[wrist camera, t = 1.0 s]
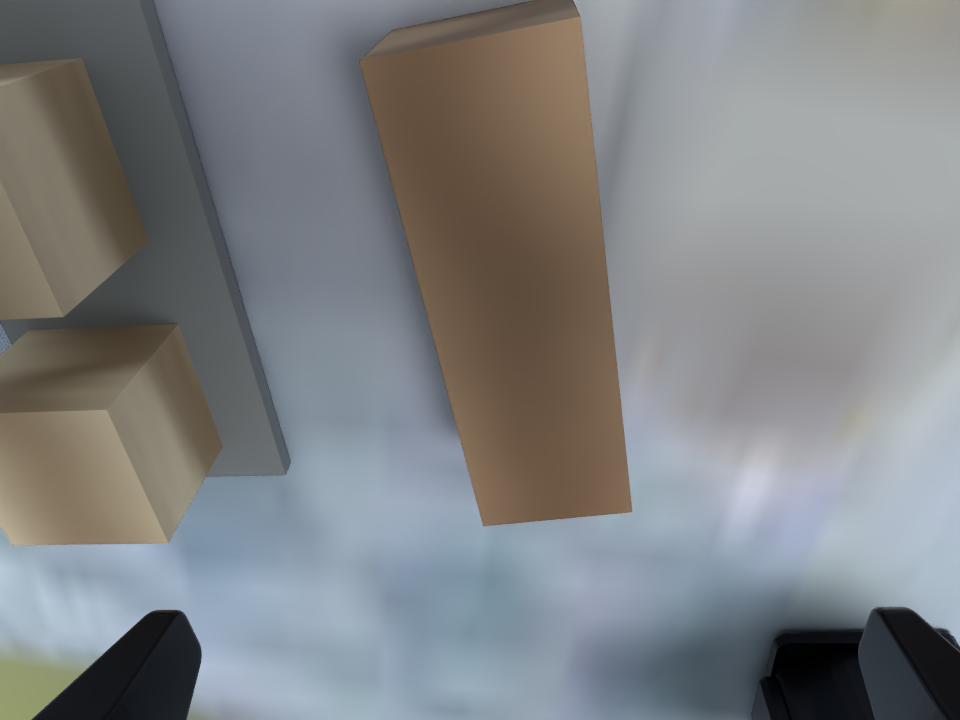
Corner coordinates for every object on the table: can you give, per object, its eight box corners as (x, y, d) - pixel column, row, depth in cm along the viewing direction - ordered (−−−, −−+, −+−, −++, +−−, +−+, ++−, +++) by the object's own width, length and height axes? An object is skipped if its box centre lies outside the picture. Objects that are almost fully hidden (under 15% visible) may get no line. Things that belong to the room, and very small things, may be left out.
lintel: (569, -8, 15) (580, 16, 12) (616, 418, 22) (632, 511, 18) (394, 28, 16) (359, 60, 13) (490, 432, 22) (482, 526, 19)
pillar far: (178, 323, 20) (106, 409, 16) (222, 446, 22) (168, 543, 19) (28, 330, 20) (-71, 415, 17) (89, 450, 23) (12, 545, 19)
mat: (148, -13, 16) (136, -10, 15) (290, 462, 23) (285, 475, 23) (-139, 12, 16) (-160, 15, 16) (91, 467, 24) (82, 479, 23)
